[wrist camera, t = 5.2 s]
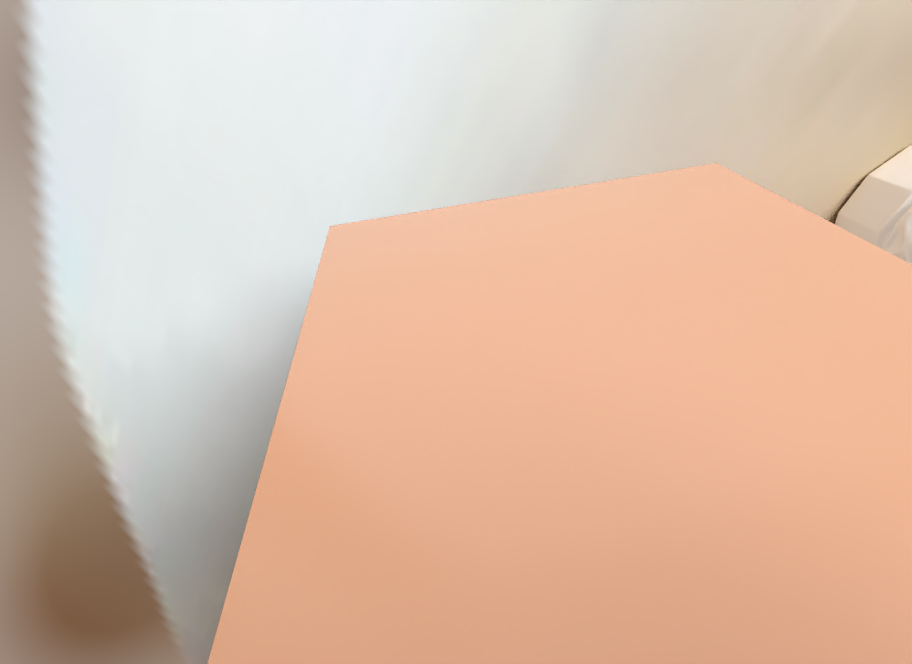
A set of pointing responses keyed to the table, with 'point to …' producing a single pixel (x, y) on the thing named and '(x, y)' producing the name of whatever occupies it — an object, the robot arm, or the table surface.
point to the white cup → (883, 207)
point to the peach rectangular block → (590, 439)
